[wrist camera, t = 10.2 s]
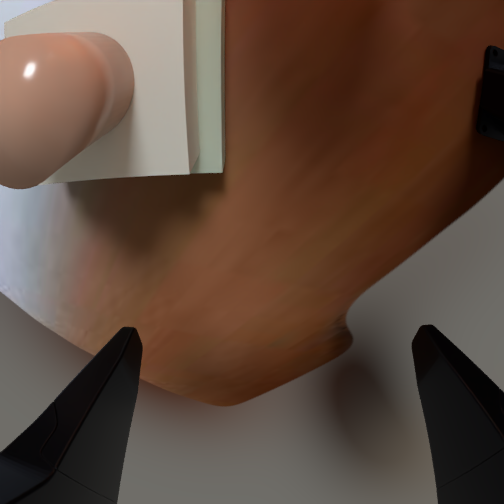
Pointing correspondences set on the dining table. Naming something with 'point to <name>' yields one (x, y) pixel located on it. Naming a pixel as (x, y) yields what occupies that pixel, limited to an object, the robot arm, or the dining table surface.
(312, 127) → the dining table surface
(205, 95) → the sage slab
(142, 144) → the cream slab
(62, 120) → the pale pink cylinder
